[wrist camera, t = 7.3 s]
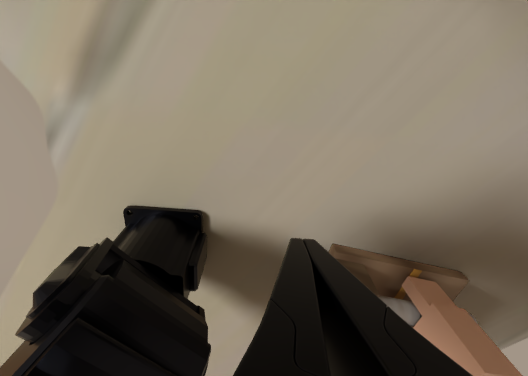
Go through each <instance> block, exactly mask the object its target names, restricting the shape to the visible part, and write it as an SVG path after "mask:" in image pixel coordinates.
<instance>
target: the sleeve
mask: <svg viewBox="0 0 528 376" xmlns="http://www.w3.org/2000/svg"><path fill="white" fill-rule="evenodd" d="M402 287H403V288H404V290H405V291H406V293H407V294H408V296H409V297H410V299H411V300H412V302H413V303H414V305H415V306H416V308H417V309H418V311H419V312H420V314H421V315H422V317H421V318H420V320H419V321H418V322H417V323H416V325H415V326H414V327H413V328H414V329H415V330H416V331H417V332H418V333H420V334H421V335H422V336H423V337H425V338H426V339H427V340H428V341H430V342H431V343H432V344H433V345H435V346H436V347H437V348H438V349H440V350H441V351H442V352H443V353H445V354H446V355H447V356H449V357H450V358H451V359H452V360H454V361H455V362H456V363H457V364H459V365H460V366H461V367H463V368H464V369H465V370H466V371H468V372H469V373H470V374H471V375H473V376H522V375H521V374H520V372H519V371H518V370H517V369H516V368H515V367H514V365H513V364H512V363H511V362H510V361H509V360H508V359H507V357H506V356H505V355H504V354H503V353H502V352H501V350H500V349H499V348H498V347H497V346H496V345H495V344H494V342H493V341H492V340H491V339H490V338H489V337H488V336H487V334H486V333H485V332H484V331H483V330H482V329H481V327H480V326H479V325H478V324H477V323H476V322H475V321H474V319H473V318H472V317H471V316H470V315H469V314H468V312H467V311H466V310H465V309H462V308H458V307H457V306H456V305H455V304H454V303H453V302H452V300H451V299H450V298H449V297H448V296H447V294H446V293H445V292H444V291H443V290H442V288H441V287H440V286H439V285H438V284H437V283H436V282H433V281H429V280H424V279H419V278H414V277H410V276H408V277H407V278H406V280H405V281H404V283H403V284H402ZM411 327H412V326H411Z"/></svg>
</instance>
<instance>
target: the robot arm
mask: <svg viewBox="0 0 528 376" xmlns="http://www.w3.org/2000/svg"><path fill="white" fill-rule="evenodd" d="M129 210H130V211H132V213H130V212H129ZM123 213H124V219H125V226H126V227H125V228H124V229H123V231H122V232H121V233H120V234H119V235H118V236H117V238H116V239H115V240H114V241H111V240H110V239H109V238H106V239H104V240H103V241H102V242H101V243H100V244H98V243H96V244H95V245H94V246H91V247H81V246H79V247H78V248H76V249H75V250H74V251H73V252H72V253H71V254H70V255H69V256H68V257H67V258H66V259H65V260H64V261H63V262H62V263H61V264H60V265H59V266H58V267H57V268H56V269H55V270H54V271H53V272H52V273H51V274H50V275H49V276H48V277H47V278H46V279H45V280H44V282H43V283H42V284H41V285H40V286H39V287H38V288H37V289H36V290H35V291H34V293H33V307H32V308H31V310H30V311H29V313H28V314H27V316H26V319H25V320H24V322H23V323H22V325H21V326H20V328H19V329H18V331H17V332H16V334H15V335H16V336H18V337H20V338H22V339H24V340H25V341H24V342H23V343H22V344H21V345H20V347H19V348H18V349H17V350H16V351H15V352H14V353H13V354H12V355H11V356H10V357H9V359H8V360H7V361H6V362H5V363H4V364H3V365H2V366H1V367H0V376H205V373H206V370H207V366H208V360H209V356H210V352H211V345H210V344H209V343H208V326H207V323H206V321H205V312H204V309H203V308H201V307H200V306H196V305H195V304H193V303H192V302H191V301H189V300H188V295H189V292H190V291H196V290H197V289H198V286H199V283H200V279H201V275H202V272H203V268H204V265H205V261H206V257H207V235H206V234H205V233H203V215H202V213H201V212H200V211H198V210H186V209H172V208H158V207H144V206H127V207H126V208H125V209H124V212H123ZM194 215H197V216H198V218H196V217H194ZM233 376H473V375H471V374H470V373H469V372H468V371H466V370H465V369H464V368H463V367H461V366H460V365H459V364H457V363H456V362H455V361H454V360H452V359H451V358H450V357H449V356H447V355H446V354H445V353H443V352H442V351H441V350H440V349H438V348H437V347H436V346H435V345H433V344H432V343H431V342H430V341H428V340H427V339H426V338H425V337H423V336H422V335H421V334H420V333H418V332H417V331H416V330H415V329H414V328H413V327H411V326H410V325H409V324H408V323H407V322H406V321H404V320H403V319H402V318H401V317H400V316H399V315H398V314H397V313H395V312H394V311H393V310H392V309H391V308H390V307H387V305H386V304H385V303H384V302H383V301H382V300H381V299H380V298H379V297H378V296H376V295H375V294H374V293H373V292H372V291H371V290H370V289H369V288H368V287H366V286H365V285H364V284H363V283H362V282H361V281H360V280H359V279H358V278H356V277H355V276H354V275H353V274H352V273H351V272H350V271H349V270H348V269H346V268H345V267H344V266H343V265H342V264H341V263H340V262H339V261H338V260H336V259H335V258H334V257H333V256H332V255H331V254H330V253H329V252H328V251H327V250H325V249H324V248H323V247H322V246H321V245H320V244H319V243H318V242H317V241H315V240H313V239H303V240H302V239H300V238H291V239H290V242H289V245H288V248H287V251H286V254H285V257H284V259H283V262H282V265H281V268H280V271H279V274H278V277H277V280H276V283H275V285H274V288H273V291H272V294H271V297H270V301H269V302H268V305H267V308H266V311H265V313H264V316H263V318H262V321H261V323H260V326H259V328H258V330H257V332H256V334H255V336H254V338H253V340H252V342H251V343H250V345H249V347H248V349H247V351H246V353H245V354H244V356H243V358H242V360H241V362H240V364H239V366H238V367H237V369H236V371H235V373H234V375H233Z"/></svg>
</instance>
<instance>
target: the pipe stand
mask: <svg viewBox="0 0 528 376" xmlns="http://www.w3.org/2000/svg"><path fill="white" fill-rule="evenodd" d="M329 253H330V254H331V255H332V256H333V257H334V258H335V259H336V260H338V261H339V262H340V263H341V264H342V265H343V266H344V267H345V268H346V269H348V270H349V271H350V272H351V273H352V274H353V275H354V276H355V277H356V278H358V279H359V280H360V281H361V282H362V283H363V284H364V285H365V286H366V287H368V288H369V289H370V290H371V291H372V292H373V293H374V294H375V295H376V296H378V297H379V298H380V299H381V300H382V301H383V302H384V303H385V304H386V305H387V307H390V308H391V309H392V310H393V311H394V312H395V313H397V314H398V315H399V316H400V317H401V318H402V319H403V320H404V321H406V322H407V323H408V324H409V325H410V326H412V327H414V326H415V325H416V323H417V322H418V321H419V320H420V318H421V317H422V315H421V314H420V312H419V311H418V309H417V308H416V306H415V305H414V303H413V302H412V300H411V299H410V297H409V296H408V294H407V293H406V291H405V290H404V288H403V287H402V284H403V283H404V281H405V280H406V278H407V277H408V276H410V277H414V278H419V279H424V280H429V281H433V282H436V283H437V284H438V285H439V286H440V287H441V288H442V290H443V291H444V292H445V293H446V294H447V296H448V297H449V298H450V299H451V300H452V302H453V300H454V299H455V298H456V297H457V295H458V294H459V293H460V292H461V291H462V289H463V288H464V287H465V286H466V284H467V283H468V282H469V280H468V279H467V278H466V277H465V276H464V275H463V274H462V273H461V272H459V271H455V270H450V269H446V268H441V267H436V266H432V265H427V264H423V263H418V262H414V261H409V260H405V259H400V258H396V257H391V256H386V255H382V254H377V253H373V252H368V251H364V250H359V249H355V248H350V247H346V246H341V245H336V244H332V246H331V248H330V250H329ZM468 314H469V315H470V316H471V317H472V318H473V319H474V321H475V322H476V323H477V324H478V322H477V320H476V318H475V317H474V316H473V315H472V314H470V313H468Z"/></svg>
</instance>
